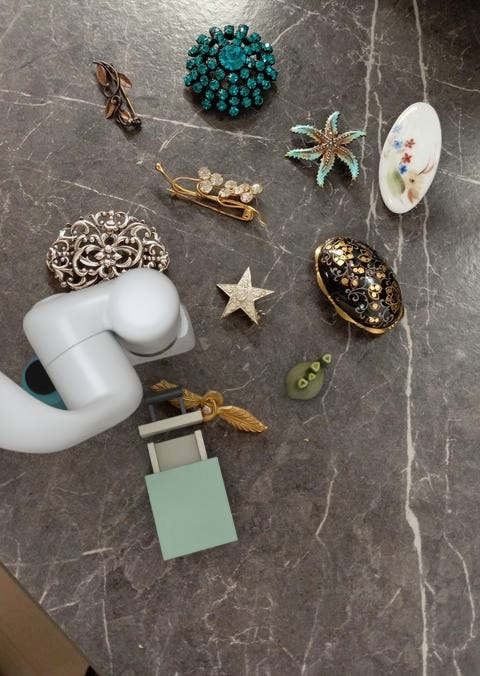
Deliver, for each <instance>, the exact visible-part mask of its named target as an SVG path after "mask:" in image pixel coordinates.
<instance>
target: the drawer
mask: <svg viewBox="0 0 480 676" xmlns="http://www.w3.org/2000/svg"><path fill="white" fill-rule="evenodd" d="M184 395H185V394H184V390H183V387H182V385H177V386H174V387H170V388H167V389H163V390H159V391H153V392H151V393H146V394H143V397H144V400H145V405H146V406H147V407H148V410H149V415H150V419H151V422H150V423H145V424H141V425H138V427H137V428H138V432H139V436H140V437H141V438H142V439H144V438H148V437H153V436H156V435H159V434H163V433H167V432H168V433H169V432H171V431H174V430H178V429H183V428H186V427H190V426H194V425H197V424H202V423H203V414H202V411H201V410H195V411H192V412H188V413H187V409H186V405H185V402H184V401H185V400H184ZM174 399H178V404H179V408H180V411H181V412H180V413H181V414H180V415H176V416H171V417H168V418H165V419H162V420H161V419H160V420H158V421H157V415H156V412H155V408H154V404H158V403H162V402H166V401H170V400H174ZM146 445H147V449H148V454H149V458H150V463H151V466H152V470H153V474H154V473H158V472H161V471H165V470H169V469H173V468H176V467H180V466H184V465H188V464H191V463H195V462H199V461H203V460H206V459H209V458H208V454H207V451H206V445H205V442H204V438H203V434H202V430H201V429H199V430H194V433H191V434H186V435H183V436H179V437H176V438H172V439H168V440H164V441H161V442H156V443H154V441H153V442H149V443H147V444H146Z"/></svg>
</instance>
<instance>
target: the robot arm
mask: <svg viewBox="0 0 480 676" xmlns="http://www.w3.org/2000/svg"><path fill="white" fill-rule="evenodd" d="M188 311H189V310H188V309H187V307H186V306H185V304H183V302H181V300H180V295H179V292H178V290H177V287H176V285H175V284H174V282H172V280H171V279H170V278H169V277H168V276H167V275H166V274H165V273H163V272H162V271H159V270H157V269H154V268H151V267H135V268H130V269H128V270H126V271H124V272H122V273H120V274H119V275H118V276H117V277H115V278H111V279H109V280H106V281H103V282H100V283H96V284H94V285H91V286H87V287H84V288H81V289H77V290H73V291H70V292H60V293H59V292H58V293H55V294H52V295H48V296H47V297H45V298H43V299H41V300H39V301H37V303H35V304H33V306H32V307H31V308H30V310H29V311H28V312H26V314H25V315H24V317H23V319H22V329H23V332H24V335H25V337H26V339H27V340H28V342H29V345H30V347H31V348H32V349H33V351H34V353H35V354H36V356H38V358H39V360H40V362H41V363H42V365H43V367H44V369H45V370H46V372H47V374H48V376H49V377H50V379H51V381H52V383H53V384H54V386H55V388H56V390H57V391H58V393H59V395H60V396H61V398H62V400H63V402H64V404H65V405H66V407H67V409H68V411H67V410H61V409H57V408H54V407H52V406H49V405H47V404H45V403H43V402H41V401H39V400H37V399H36V398H34V397H33V396H31V395H30V394H29V393H27V392H26V391H25V390H23V389H22V386H20V385H19V384H17V383H16V382H15V381H13V380H12V379H11V378H10V377H8V376H7V375H6V374H4V373H3V372H2V371H0V449H3V450H8V451H11V452H17V453H18V452H19V453H26V454H51V453H57V452H60V451H65V450H67V449H70V448H73V447H75V446H77V445H79V444H81V443H83V442H85V441H86V440H89V439H91V438H93V437H95V436H98V435H100V434H101V433H104V432H105V431H107V430H109V429H111V428H113V427H115V426H117V425H118V424H120V423H122V422H123V421H125V420H126V419H128V418H129V417H130V416H131V415H132V414H133V413H134V412H136V410H137V409H138V408H139V406H140V405H141V402H142V399H143V397H144V391H143V385H142V381H141V380H140V377H139V375H138V373H137V372H136V370H135V367H134V366H137V365H140V364H141V365H142V364H146V363H149V362H153V361H158V360H161V359H165V358H169V357H173V356H177V355H180V354H184V353H186V352H190V351H191V350H193V349H194V347H195V346H196V335H195V328H194V324H193V323H192V319H191V317H190V314H189V312H188Z"/></svg>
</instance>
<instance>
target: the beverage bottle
mask: <svg viewBox="0 0 480 676" xmlns="http://www.w3.org/2000/svg"><path fill="white" fill-rule="evenodd" d="M20 384H21V388H22V389H23V390H25V391H26V392H27V393H29V394H30V395H31V396H33V397H34V398H36V399H37V400H39V401H41V402H43V403H45V404H47V405H49V406H52V407H54V408H57V409H61V410H67V411H68V409H67V407H66V405H65V404H64V402H63V400H62V398H61V396H60V395H59V393H58V391H57V390H56V388H55V386H54V384H53V383H52V381H51V379H50V377H49V376H48V374H47V372H46V370H45V369H44V367H43V365H42V363H41V362H40V360H39V358H38V356H37V355H36V356H35V357H33V358H31V359H30V361H28V363H26V364H25V366H24V368H23V370H22V373H21V380H20Z"/></svg>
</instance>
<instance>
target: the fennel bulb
mask: <svg viewBox="0 0 480 676" xmlns="http://www.w3.org/2000/svg"><path fill="white" fill-rule="evenodd" d="M332 358H333V357H332V354H331V353H325V354H323V355H322V356H321V357H319V358H318V359H314V360H311V361H304V362H301V363H298V364H295V365H294V366H293V367H292V368H291V369H290V370H288V372H287V373H286V375H285V377H284V384H285V386H286V388H285V391H286V395H287V396H288V397H289V398H290V399H292V400H303V401H305V400H310V399H313V398H316V396H318V394H320V391H321V390H322V388H323V384H324V380H325V369H326V366H327V365H329V364H330V363H331V362H332Z"/></svg>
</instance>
